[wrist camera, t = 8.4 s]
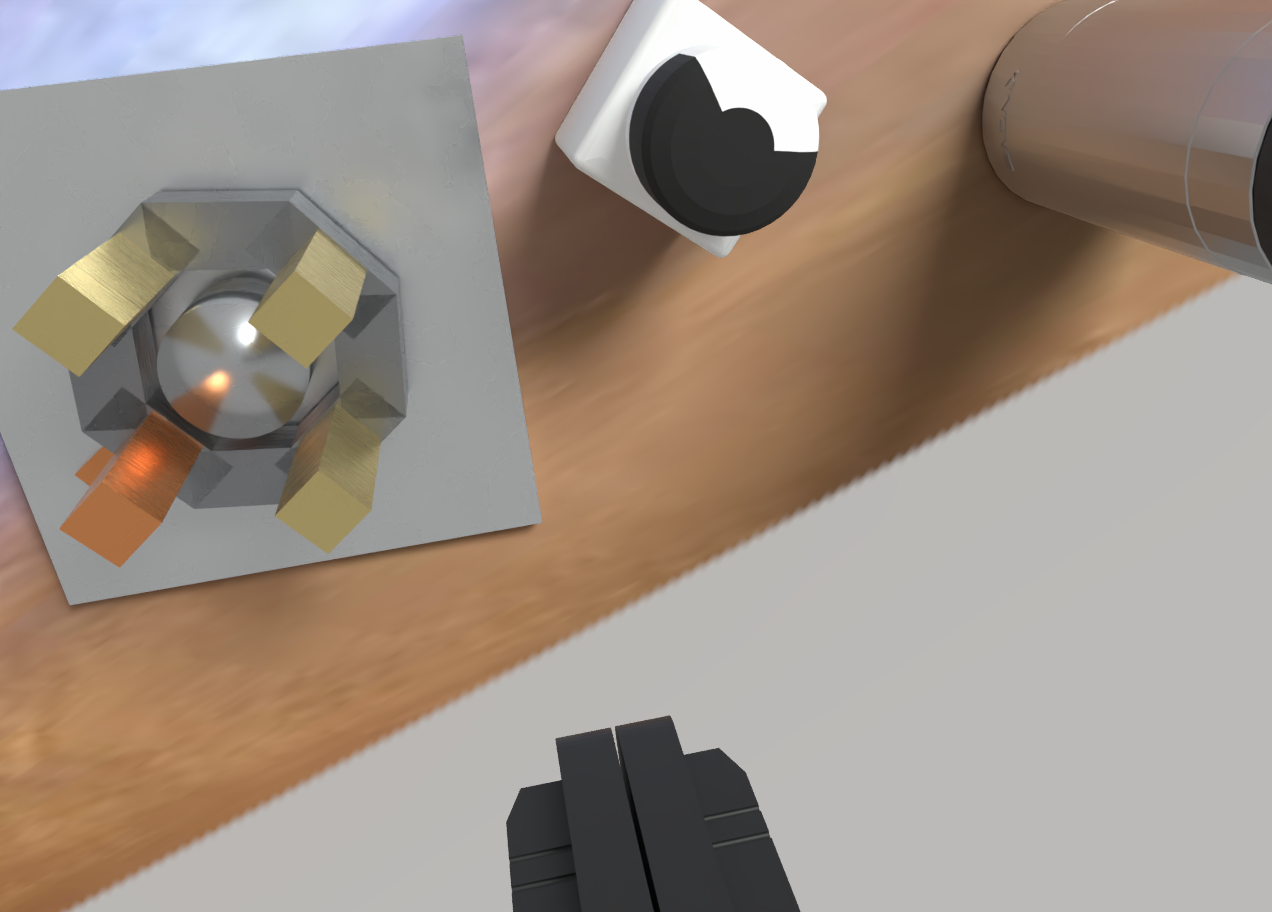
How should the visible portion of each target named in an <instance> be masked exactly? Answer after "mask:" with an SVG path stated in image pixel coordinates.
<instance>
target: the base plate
mask: <svg viewBox="0 0 1272 912" xmlns="http://www.w3.org/2000/svg"><path fill="white" fill-rule="evenodd" d="M270 190H298V191H299V192H300V193H301V194H302V195H303V196H304V197H306V198H307V199H308V200H309V201H310V202H311V203H312V204H314V205H315V206H316V207H317V208H318V209H319V210H320V211H322V212H323V213H324V214H325V215H326V216H327V217H328V218H330V219H331V220H332V221H333V222H334V223H335V224H336V225H338V226H339V227H340V228H341V229H342V230H343V231H344V232H346V233H347V234H348V235H349V236H350V237H351V238H352V239H354V240H355V241H356V242H357V243H358V244H359V245H360V246H362V247H363V248H364V249H365V250H366V251H367V252H368V253H370V254H371V255H372V256H373V257H374V258H375V259H376V260H378V261H379V262H380V263H381V264H382V265H383V266H384V267H386V268H387V269H388V270H389V271H390V272H391V273H392V274H394V275H395V276H396V277H397V278H398V279H399V287H400V300H401V313H402V326H403V339H404V352H405V365H406V378H407V391H408V402H407V413H406V418H405V419H404V420H403V421H402V422H401V423H400V424H399V425H398V426H397V427H396V428H395V429H394V430H393V431H392V432H391V433H390V434H389V435H388V436H387V437H386V438H385V439H384V440H383V441H382V442H381V446H380V453H379V460H378V467H377V474H376V481H375V488H374V495H373V502H372V509H371V511H370V512H369V513H368V514H367V515H366V516H365V517H364V518H363V519H362V520H361V521H360V522H359V523H358V524H357V525H356V527H355V528H354V529H353V530H352V531H351V532H350V533H349V534H348V535H347V536H346V537H345V538H344V539H343V540H342V541H341V542H340V543H339V544H338V545H337V546H336V547H335V548H334V549H333V550H332V551H331V552H330V553H329V554H327V553H326V552H324V551H323V550H321V549H320V548H319V547H317V546H316V545H314V544H313V543H312V542H310V541H309V540H307V539H306V538H305V537H303V536H302V535H300V534H299V533H298V532H296V531H295V530H293V529H292V528H291V527H289V526H288V525H286V524H285V523H284V522H282V521H281V520H279V519H278V518H277V517H275V513H276V510H277V507H278V504H274V505H257V506H239V507H222V508H205V509H193V508H192V507H190V506H189V505H187V504H186V503H185V502H183V501H182V500H180V499H179V498H177V497H176V498H175V500H174V502H173V503H172V505H171V507H170V509H169V511H168V513H167V515H166V516H165V518H164V520H163V522H162V523H161V524H160V525H159V527H158V528H157V529H156V530H155V531H154V532H153V533H152V534H151V535H150V536H149V537H148V538H147V539H146V540H145V541H144V543H143V544H142V545H141V546H140V547H139V548H138V549H137V550H136V551H135V552H134V553H133V554H132V555H131V556H130V557H129V559H128V560H127V561H126V562H125V563H124V564H123V565H122V566H121V567H120V568H119V567H118V566H116V565H114V564H113V563H111V562H110V561H108V560H107V559H105V558H103V557H102V556H100V555H99V554H97V553H96V552H94V551H93V550H91V549H89V548H88V547H86V546H85V545H83V544H82V543H80V542H78V541H77V540H75V539H74V538H72V537H71V536H69V535H68V534H66V533H64V532H63V531H61V530H60V529H59V528H60V527H61V525H62V524H63V523H64V521H65V520H66V518H67V517H68V516H69V514H70V513H71V512H72V510H73V509H74V507H75V506H76V505H77V503H78V502H79V501H80V499H81V498H82V497H83V495H84V494H85V492H86V491H87V490H88V488H89V487H90V486H91V484H92V483H93V482H94V480H95V479H96V477H97V476H98V475H99V473H100V472H101V471H102V469H103V468H104V466H105V465H106V464H107V462H108V461H109V460H110V458H111V457H112V456H113V453H112V452H111V451H109V450H108V449H106V448H105V447H103V446H102V445H100V444H99V443H97V442H96V441H95V440H93V439H92V438H90V437H89V436H87V435H86V434H84V433H83V432H82V430H81V426H80V421H79V416H78V412H77V407H76V403H75V398H74V393H73V389H72V384H71V379H70V375H69V370H68V369H67V368H66V367H64V366H63V365H62V364H60V363H59V362H57V361H56V360H55V359H53V358H52V357H50V356H49V355H47V354H46V353H45V352H43V351H42V350H40V349H39V348H38V347H36V346H35V345H33V344H32V343H31V342H29V341H28V340H26V339H25V338H24V337H22V336H21V335H19V334H18V333H17V332H15V331H14V330H12V328H13V327H14V326H15V325H16V324H17V323H18V321H19V320H20V319H21V318H22V317H23V316H24V314H25V313H26V312H27V311H28V310H29V309H30V307H31V306H32V305H33V304H34V303H35V302H36V300H37V299H38V298H39V297H40V296H41V295H42V293H43V292H44V291H45V290H46V289H47V288H48V286H49V285H50V284H51V283H52V282H53V281H54V279H55V278H56V277H57V276H58V275H59V274H61V273H62V272H64V271H65V270H67V269H68V268H69V267H71V266H72V265H74V264H75V263H76V262H78V261H79V260H81V259H82V258H84V257H85V256H86V255H88V254H89V253H91V252H92V251H93V250H95V249H96V248H98V247H99V246H101V245H102V244H103V243H105V242H106V241H108V240H109V239H110V238H111V237H112V235H113V234H114V233H115V232H116V231H117V230H118V229H119V227H120V226H121V225H122V224H123V223H124V222H125V220H126V219H127V218H128V217H129V216H130V215H131V213H132V212H133V211H134V210H135V209H136V208H137V207H138V205H139V204H140V203H141V202H143V201H144V200H146V199H147V198H149V197H150V196H152V195H153V194H155V193H156V192H165V191H270ZM275 277H276V275H275V274H274V273H272V272H271V271H270V270H269V269H240V270H194V271H183V272H182V273H181V274H180V276H179V277H178V278H177V279H176V280H175V281H174V282H173V283H172V285H171V286H170V287H169V288H168V289H167V290H166V291H165V292H164V294H163V295H162V296H161V297H160V298H159V299H158V300H157V301H156V303H155V304H154V305H153V306H152V307H151V308H150V309H149V310H148V313H149V318H150V324H151V330H152V335H153V341H154V346H155V352H156V358H157V372H158V378H159V382H160V385H161V388H162V390H163V393H164V395H165V396H166V398H167V400H168V401H169V403H170V404H171V405H172V407H173V408H174V409H175V410H176V411H177V412H178V413H179V415H180V416H182V417H183V418H184V419H185V420H186V421H188V422H189V423H191V424H192V425H194V426H195V427H197V428H199V429H201V430H203V431H205V432H208V433H211V434H213V435H217V436H221V437H226V438H241V439H243V438H253V437H257V436H262V435H264V434H267V433H270V432H272V431H274V430H276V429H278V428H279V427H281V426H299V425H300V423H301V422H302V421H303V420H304V419H305V418H306V417H307V416H308V415H309V414H310V413H311V412H312V411H313V410H314V409H315V408H316V407H317V406H318V405H319V403H320V402H321V401H322V400H323V399H324V398H325V397H326V396H327V395H328V394H329V393H330V392H331V391H332V390H333V389H334V388H335V387H336V386H337V384H338V383H339V379H338V370H337V360H336V351H335V341H334V340H333V341H332V342H331V343H330V344H329V345H328V346H327V347H326V348H325V349H324V350H323V352H322V353H321V354H320V355H319V356H318V357H317V358H316V359H315V360H314V361H313V362H312V363H311V364H310V365H309V367H308V368H307V369H306V368H305V367H304V366H302V365H301V364H300V363H298V362H297V361H296V360H295V359H293V358H292V357H291V356H290V355H288V354H287V353H286V352H285V351H283V350H282V349H281V348H280V347H278V346H277V345H276V344H275V343H273V342H272V341H271V340H269V339H268V338H267V337H266V336H264V335H263V334H262V333H261V332H259V331H258V330H257V329H256V328H254V327H253V326H252V325H251V324H249V323H248V321H249V319H250V318H251V316H252V314H253V313H254V311H255V309H256V308H257V306H258V304H259V303H260V301H261V300H262V298H263V296H264V295H265V293H266V291H267V290H268V288H269V287H270V285H271V283H272V282H273V280H274V278H275ZM0 433H1V435H2V438H3V440H4V443H5V445H6V448H7V450H8V453H9V455H10V458H11V460H12V463H13V465H14V468H15V470H16V473H17V475H18V478H19V480H20V483H21V485H22V488H23V490H24V493H25V495H26V498H27V500H28V503H29V505H30V508H31V510H32V513H33V515H34V518H35V520H36V523H37V525H38V528H39V530H40V533H41V535H42V538H43V540H44V543H45V545H46V548H47V550H48V553H49V555H50V558H51V560H52V563H53V565H54V568H55V570H56V573H57V575H58V578H59V580H60V583H61V585H62V588H63V590H64V593H65V595H66V598H67V600H68V603H69V605H75V604H80V603H86V602H92V601H97V600H103V599H109V598H115V597H120V596H126V595H132V594H138V593H143V592H149V591H155V590H160V589H166V588H172V587H178V586H183V585H189V584H195V583H200V582H206V581H212V580H218V579H223V578H229V577H235V576H240V575H246V574H252V573H258V572H263V571H269V570H275V569H281V568H286V567H292V566H298V565H303V564H309V563H315V562H321V561H326V560H332V559H338V558H343V557H349V556H355V555H361V554H366V553H372V552H378V551H384V550H389V549H395V548H401V547H406V546H412V545H418V544H424V543H429V542H435V541H441V540H446V539H452V538H458V537H464V536H469V535H475V534H481V533H486V532H492V531H498V530H504V529H509V528H515V527H521V526H527V525H532V524H538V523H542V518H541V512H540V506H539V500H538V494H537V488H536V481H535V475H534V469H533V463H532V457H531V451H530V445H529V439H528V433H527V426H526V420H525V414H524V408H523V402H522V396H521V390H520V384H519V378H518V372H517V365H516V359H515V353H514V347H513V341H512V335H511V329H510V323H509V317H508V311H507V304H506V298H505V292H504V286H503V280H502V274H501V268H500V262H499V256H498V250H497V243H496V237H495V231H494V225H493V219H492V213H491V207H490V201H489V195H488V188H487V182H486V176H485V170H484V164H483V158H482V152H481V146H480V140H479V134H478V127H477V121H476V115H475V109H474V103H473V97H472V91H471V85H470V79H469V73H468V66H467V60H466V54H465V48H464V42H463V36H462V35H454V36H446V37H437V38H429V39H421V40H412V41H404V42H396V43H387V44H379V45H371V46H362V47H354V48H346V49H337V50H329V51H321V52H312V53H304V54H296V55H287V56H279V57H271V58H262V59H254V60H246V61H237V62H229V63H221V64H212V65H204V66H196V67H187V68H179V69H171V70H162V71H154V72H146V73H137V74H129V75H121V76H112V77H104V78H96V79H87V80H79V81H71V82H62V83H54V84H46V85H37V86H29V87H21V88H12V89H4V90H0Z"/></svg>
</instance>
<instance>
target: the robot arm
mask: <svg viewBox="0 0 1272 912" xmlns="http://www.w3.org/2000/svg"><path fill="white" fill-rule="evenodd" d="M982 129H983V141H984V145H985V148H986V152H987V156H988V159H989V161H990V163H991V165H992V167H993V169H994V171H995V172H996V174H997V176H998V178H999V179H1000V180H1001V181H1002V182H1003V183H1004V184H1005V185H1006V186H1007V187H1008V189H1009V190H1010V191H1012V192H1013V193H1015V194H1016V195H1018V196H1020V197H1021V198H1023V199H1024V200H1026V201H1029V202H1032V203H1035V204H1037V205H1040V206H1043V207H1046V208H1049V209H1052V210H1055V211H1057V212H1060V213H1063V214H1066V215H1069V216H1072V217H1074V218H1077V219H1079V220H1082V221H1085V222H1088V223H1091V224H1094V225H1097V226H1100V227H1103V228H1106V229H1109V230H1112V231H1115V232H1118V233H1120V234H1123V235H1126V236H1129V237H1132V238H1135V239H1138V240H1141V241H1144V242H1147V243H1150V244H1153V245H1156V246H1159V247H1162V248H1165V249H1168V250H1171V251H1174V252H1177V253H1179V254H1182V255H1185V256H1188V257H1191V258H1194V259H1197V260H1200V261H1203V262H1206V263H1209V264H1212V265H1215V266H1218V267H1221V268H1224V269H1227V270H1230V271H1233V272H1235V273H1238V274H1241V275H1245V276H1249V277H1252V278H1255V279H1258V280H1260V281H1263V282H1266V283H1270V284H1272V0H1065V1H1062V2H1059V3H1056V4H1054V5H1053V6H1051V7H1049V8H1048V9H1046V10H1044V11H1043V12H1041V13H1039V14H1038V15H1036V16H1035V17H1034V18H1033V19H1032V20H1030V21H1029V22H1028V23H1027V24H1026V25H1025V26H1024V27H1023V28H1022V29H1021V30H1020V31H1018V32H1017V34H1016V35H1015V36H1014V38H1013V39H1012V40H1011V42H1010V43H1009V44H1008V46H1007V47H1006V48H1005V49H1004V51H1003V53H1002V54H1001V56H1000V58H999V60H998V62H997V64H996V66H995V68H994V70H993V72H992V74H991V77H990V80H989V84H988V87H987V90H986V93H985V97H984V105H983V113H982ZM615 731H616V740H617V747H618V754H619V760H618V755H617V751H616V747H615V742H614V738H613V734H612V730H611V728H606V729H601V730H596V731H591V732H586V733H581V734H576V735H571V736H566V737H561V738H556V746H557V752H558V759H559V765H560V772H561V778H562V780H560V781H555V782H550V783H545V784H541V785H536V786H531V787H526V788H521V789H520V791H519V794H518V796H517V799H516V801H515V803H514V805H513V808H512V810H511V813H510V815H509V817H508V820H507V822H506V824H507V838H508V851H509V860H510V876H511V887H512V903H513V912H800V910H799V907H798V904H797V901H796V899H795V896H794V894H793V892H792V889H791V886H790V884H789V881H788V879H787V876H786V874H785V871H784V869H783V866H782V864H781V861H780V858H779V856H778V853H777V851H776V848H775V846H774V843H773V841H772V838H770V835H769V830H768V828H767V825H766V823H765V820H764V818H763V815H762V813H761V811H760V810H759V806H758V802H757V800H756V797H755V795H754V792H753V790H752V787H751V785H750V782H749V780H748V778H747V775H746V772H745V771H743V770H742V769H741V768H740V767H739V766H738V765H737V764H736V763H735V762H734V761H733V760H731V759H730V758H729V757H728V756H727V755H726V754H725V753H724V752H723V751H722V750H720V749H719V748H716V749H711V750H707V751H701V752H696V753H691V754H686V755H684V754H683V751H682V748H681V745H680V742H679V739H678V736H677V732H676V730H675V726H674V723H673V721H672V718H671V716H665V717H660V718H655V719H650V720H645V721H640V722H636V723H630V724H625V725H620V726H615ZM619 761H620V764H619Z"/></svg>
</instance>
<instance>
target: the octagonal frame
mask: <svg viewBox="0 0 1272 912" xmlns="http://www.w3.org/2000/svg"><path fill="white" fill-rule="evenodd" d="M240 269H269V270H270V271H271V272H272V273H274V274H275V275H276V277H275V278H274V280H273V282H272V283H271V285H270V287H269V288H268V290H267V291H266V293H265V295H264V296H263V298H262V300H261V301H260V303H259V304H258V306H257V308H256V309H255V311H254V313H253V314H252V316H251V318H250V319H249V321H248V323H249V324H251V325H252V326H253V327H254V328H256V329H257V330H258V331H259V332H261V333H262V334H263V335H264V336H266V337H267V338H268V339H269V340H271V341H272V342H273V343H275V344H276V345H277V346H278V347H280V348H281V349H282V350H283V351H285V352H286V353H287V354H288V355H290V356H291V357H292V358H293V359H295V360H296V361H297V362H298V363H300V364H301V365H302V366H304V367H305V368H306V369H307V368H308V367H309V365H310V364H311V363H312V362H313V361H314V360H315V359H316V358H317V357H318V356H319V355H320V354H321V353H322V352H323V350H324V349H325V348H326V347H327V346H328V345H329V344H330V343H331V342H332V341H333V340H334V341H335V351H336V360H337V370H338V379H339V383H338V384H337V386H336V387H335V388H334V389H333V390H332V391H331V392H330V393H329V394H328V395H327V396H326V397H325V398H324V399H323V400H322V401H321V402H320V403H319V405H318V406H317V407H316V408H315V409H314V410H313V411H312V412H311V413H310V414H309V415H308V416H307V417H306V418H305V419H304V420H303V421H302V422H301V423H300V425H299V426H281V427H279V428H278V429H276V430H274V431H272V432H270V433H267V434H264V435H262V436H257V437H253V438H243V439H241V438H226V437H221V436H217V435H213V434H211V433H208V432H205V431H203V430H201V429H199V428H197V427H195V426H194V425H192V424H191V423H189V422H188V421H186V420H185V419H184V418H183V417H182V416H180V415H179V413H178V412H177V411H176V410H175V409H174V408H173V407H172V405H171V404H170V403H169V401H168V400H167V398H166V396H165V395H164V393H163V390H162V388H161V385H160V382H159V378H158V372H157V358H156V352H155V346H154V341H153V335H152V330H151V324H150V318H149V313H148V310H149V309H150V308H151V307H152V306H153V305H154V304H155V303H156V301H157V300H158V299H159V298H160V297H161V296H162V295H163V294H164V292H165V291H166V290H167V289H168V288H169V287H170V286H171V285H172V283H173V282H174V281H175V280H176V279H177V278H178V277H179V276H180V274H181V273H182V272H183V271H194V270H240ZM12 330H14V331H15V332H17V333H18V334H19V335H21V336H22V337H24V338H25V339H26V340H28V341H29V342H31V343H32V344H33V345H35V346H36V347H38V348H39V349H40V350H42V351H43V352H45V353H46V354H47V355H49V356H50V357H52V358H53V359H55V360H56V361H57V362H59V363H60V364H62V365H63V366H64V367H66V368H67V369H68V370H69V375H70V379H71V384H72V389H73V393H74V398H75V403H76V407H77V412H78V416H79V421H80V426H81V430H82V432H83V433H84V434H86V435H87V436H89V437H90V438H92V439H93V440H95V441H96V442H97V443H99V444H100V445H102V446H103V447H105V448H106V449H108V450H109V451H111V452H112V453H113V456H112V457H111V458H110V460H109V461H108V462H107V464H106V465H105V466H104V468H103V469H102V471H101V472H100V473H99V475H98V476H97V477H96V479H95V480H94V482H93V483H92V484H91V486H90V487H89V488H88V490H87V491H86V492H85V494H84V495H83V497H82V498H81V499H80V501H79V502H78V503H77V505H76V506H75V507H74V509H73V510H72V512H71V513H70V514H69V516H68V517H67V518H66V520H65V521H64V523H63V524H62V525H61V527H60V528H59V529H60V530H61V531H63V532H64V533H66V534H68V535H69V536H71V537H72V538H74V539H75V540H77V541H78V542H80V543H82V544H83V545H85V546H86V547H88V548H89V549H91V550H93V551H94V552H96V553H97V554H99V555H100V556H102V557H103V558H105V559H107V560H108V561H110V562H111V563H113V564H114V565H116V566H118V567H119V568H120V567H121V566H122V565H123V564H124V563H125V562H126V561H127V560H128V559H129V557H130V556H131V555H132V554H133V553H134V552H135V551H136V550H137V549H138V548H139V547H140V546H141V545H142V544H143V543H144V541H145V540H146V539H147V538H148V537H149V536H150V535H151V534H152V533H153V532H154V531H155V530H156V529H157V528H158V527H159V525H160V524H161V523H162V522H163V520H164V518H165V516H166V515H167V513H168V511H169V509H170V507H171V505H172V503H173V502H174V500H175V498H176V497H177V498H179V499H180V500H182V501H183V502H185V503H186V504H187V505H189V506H190V507H192V508H193V509H205V508H222V507H239V506H257V505H274V504H278V507H277V510H276V513H275V517H277V518H278V519H279V520H281V521H282V522H284V523H285V524H286V525H288V526H289V527H291V528H292V529H293V530H295V531H296V532H298V533H299V534H300V535H302V536H303V537H305V538H306V539H307V540H309V541H310V542H312V543H313V544H314V545H316V546H317V547H319V548H320V549H321V550H323V551H324V552H326V553H327V554H329V553H330V552H331V551H332V550H333V549H334V548H335V547H336V546H337V545H338V544H339V543H340V542H341V541H342V540H343V539H344V538H345V537H346V536H347V535H348V534H349V533H350V532H351V531H352V530H353V529H354V528H355V527H356V525H357V524H358V523H359V522H360V521H361V520H362V519H363V518H364V517H365V516H366V515H367V514H368V513H369V512H370V511H371V509H372V502H373V495H374V488H375V481H376V474H377V467H378V460H379V453H380V446H381V442H382V441H383V440H384V439H385V438H386V437H387V436H388V435H389V434H390V433H391V432H392V431H393V430H394V429H395V428H396V427H397V426H398V425H399V424H400V423H401V422H402V421H403V420H404V419H405V418H406V413H407V402H408V391H407V378H406V365H405V352H404V339H403V326H402V313H401V300H400V287H399V279H398V278H397V277H396V276H395V275H394V274H392V273H391V272H390V271H389V270H388V269H387V268H386V267H384V266H383V265H382V264H381V263H380V262H379V261H378V260H376V259H375V258H374V257H373V256H372V255H371V254H370V253H368V252H367V251H366V250H365V249H364V248H363V247H362V246H360V245H359V244H358V243H357V242H356V241H355V240H354V239H352V238H351V237H350V236H349V235H348V234H347V233H346V232H344V231H343V230H342V229H341V228H340V227H339V226H338V225H336V224H335V223H334V222H333V221H332V220H331V219H330V218H328V217H327V216H326V215H325V214H324V213H323V212H322V211H320V210H319V209H318V208H317V207H316V206H315V205H314V204H312V203H311V202H310V201H309V200H308V199H307V198H306V197H304V196H303V195H302V194H301V193H300V192H299V191H298V190H270V191H165V192H156V193H155V194H153V195H152V196H150V197H149V198H147V199H146V200H144V201H143V202H141V203H140V204H139V205H138V207H137V208H136V209H135V210H134V211H133V212H132V213H131V215H130V216H129V217H128V218H127V219H126V220H125V222H124V223H123V224H122V225H121V226H120V227H119V229H118V230H117V231H116V232H115V233H114V234H113V235H112V237H111V238H110V239H109V240H108V241H106V242H105V243H103V244H102V245H101V246H99V247H98V248H96V249H95V250H93V251H92V252H91V253H89V254H88V255H86V256H85V257H84V258H82V259H81V260H79V261H78V262H76V263H75V264H74V265H72V266H71V267H69V268H68V269H67V270H65V271H64V272H62V273H61V274H59V275H58V276H57V277H56V278H55V279H54V281H53V282H52V283H51V284H50V285H49V286H48V288H47V289H46V290H45V291H44V292H43V293H42V295H41V296H40V297H39V298H38V299H37V300H36V302H35V303H34V304H33V305H32V306H31V307H30V309H29V310H28V311H27V312H26V313H25V314H24V316H23V317H22V318H21V319H20V320H19V321H18V323H17V324H16V325H15V326H14V327H13V328H12Z"/></svg>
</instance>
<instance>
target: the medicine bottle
mask: <svg viewBox="0 0 1272 912" xmlns="http://www.w3.org/2000/svg"><path fill="white" fill-rule="evenodd" d="M826 102H827V100H826V96H825V94H824V93H823V92H822V91H821V90H819V89H818V88H817V87H815V86H814V85H812V84H811V83H810V82H808V81H807V80H806V79H804V78H803V77H802V76H800V75H799V74H798V73H796V72H795V71H793V70H792V69H791V68H789V67H788V66H787V65H786V64H784V63H783V62H782V61H781V60H779V59H777V58H776V57H774V56H773V55H772V54H770V53H769V52H768V51H766V50H765V49H764V48H762V47H761V46H760V45H758V44H757V43H755V42H754V41H753V40H751V39H750V38H749V37H747V36H746V35H745V34H743V33H742V32H741V31H739V30H738V29H736V28H735V27H734V26H732V25H731V24H730V23H728V22H727V21H726V20H724V19H723V18H722V17H720V16H719V15H717V14H716V13H715V12H713V11H712V10H711V9H709V8H708V7H707V6H705V5H704V4H703V3H701V2H700V1H698V0H633V2H632V4H631V6H630V7H629V9H628V11H627V12H626V14H625V16H624V18H623V19H622V21H621V23H620V24H619V26H618V28H617V30H616V31H615V33H614V35H613V37H612V38H611V40H610V42H609V43H608V45H607V47H606V49H605V50H604V52H603V54H602V55H601V57H600V59H599V61H598V62H597V64H596V66H595V68H594V69H593V71H592V73H591V74H590V76H589V78H588V80H587V81H586V83H585V85H584V86H583V88H582V90H581V92H580V93H579V95H578V97H577V98H576V100H575V102H574V104H573V105H572V107H571V109H570V111H569V112H568V114H567V116H566V117H565V119H564V121H563V123H562V124H561V126H560V128H559V129H558V131H557V133H556V136H555V141H556V144H557V145H558V146H559V147H560V149H561V150H562V151H563V152H564V154H565V155H566V156H567V157H568V159H569V160H570V161H571V162H572V163H573V165H574V166H575V167H576V168H577V169H579V170H580V171H582V172H584V173H585V174H587V175H588V176H590V177H591V178H593V179H595V180H596V181H598V182H599V183H601V184H602V185H604V186H606V187H607V188H609V189H610V190H612V191H614V192H615V193H617V194H618V195H620V196H621V197H623V198H625V199H626V200H628V201H629V202H631V203H632V204H634V205H636V206H637V207H639V208H640V209H642V210H644V211H645V212H647V213H648V214H650V215H651V216H653V217H655V218H656V219H658V220H659V221H661V222H663V223H664V224H666V225H667V226H669V227H670V228H672V229H674V230H675V231H677V232H678V233H680V234H681V235H683V236H685V237H686V238H688V239H689V240H691V241H693V242H694V243H696V244H697V245H699V246H700V247H702V248H704V249H705V250H707V251H708V252H710V253H711V254H713V255H715V256H716V257H720V258H722V257H726V256H727V255H728V254H729V253H730V252H731V250H732V248H733V247H734V245H735V244H736V242H737V241H738V239H739V238H740V236H741V235H743V234H748V233H751V232H753V231H756V230H759V229H761V228H763V227H765V226H767V225H769V224H771V223H772V222H773V221H775V220H776V219H778V218H779V217H781V216H782V215H783V214H784V213H785V212H786V211H787V210H788V209H789V208H790V207H791V206H792V205H793V204H794V203H795V202H796V200H797V199H798V198H799V196H800V195H801V193H802V192H803V190H804V189H805V187H806V185H807V183H808V181H809V179H810V177H811V174H812V172H813V169H814V166H815V162H816V158H817V153H818V144H819V127H818V120H817V118H818V116H819V115H820V113H821V112H822V110H823V109H824V107H825V105H826Z"/></svg>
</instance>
